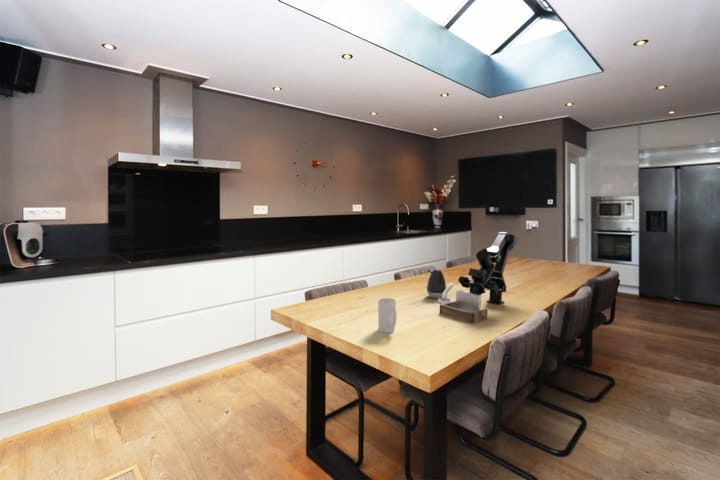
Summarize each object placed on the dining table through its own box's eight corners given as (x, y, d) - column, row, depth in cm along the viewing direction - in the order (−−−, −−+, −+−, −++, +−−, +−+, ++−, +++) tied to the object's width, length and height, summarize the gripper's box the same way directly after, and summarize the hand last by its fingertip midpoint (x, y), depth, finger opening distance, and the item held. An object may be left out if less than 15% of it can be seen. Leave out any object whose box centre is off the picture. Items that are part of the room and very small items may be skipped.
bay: (454, 309, 175) (454, 300, 175) (487, 318, 162) (487, 309, 161) (439, 313, 168) (439, 304, 168) (472, 323, 155) (473, 314, 154)
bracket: (457, 310, 173) (458, 289, 172) (480, 317, 163) (481, 295, 162) (446, 314, 167) (446, 292, 166) (468, 321, 158) (469, 298, 157)
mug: (374, 328, 147) (375, 299, 146) (389, 326, 150) (389, 297, 149) (387, 337, 138) (388, 305, 137) (402, 334, 141) (403, 303, 140)
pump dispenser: (431, 293, 204) (432, 266, 202) (449, 296, 198) (450, 268, 196) (422, 297, 195) (423, 269, 194) (441, 300, 189) (442, 271, 188)
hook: (464, 294, 182) (454, 287, 181) (449, 312, 185) (438, 305, 183) (459, 287, 190) (449, 280, 188) (444, 305, 192) (434, 298, 190)
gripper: (461, 259, 176) (445, 285, 170) (497, 264, 162) (481, 293, 156) (470, 273, 182) (455, 299, 176) (505, 280, 168) (491, 308, 162)
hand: (470, 299), depth 167 cm, fingers closed
